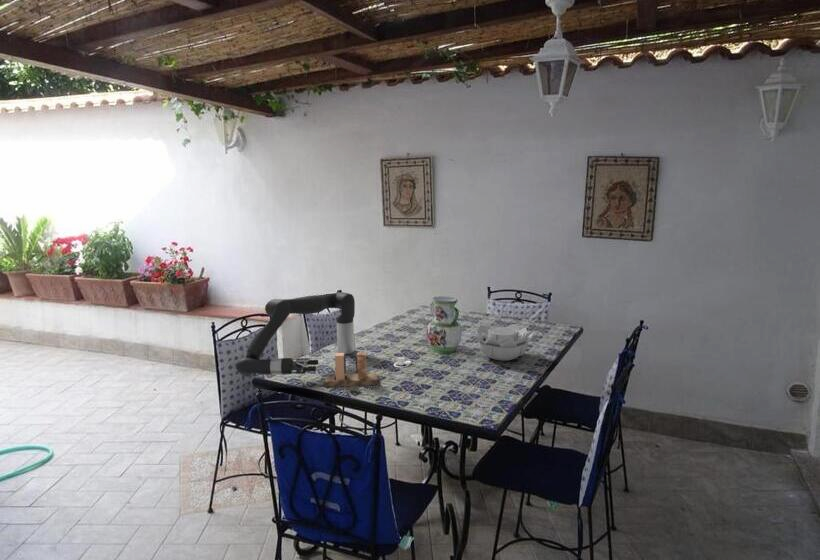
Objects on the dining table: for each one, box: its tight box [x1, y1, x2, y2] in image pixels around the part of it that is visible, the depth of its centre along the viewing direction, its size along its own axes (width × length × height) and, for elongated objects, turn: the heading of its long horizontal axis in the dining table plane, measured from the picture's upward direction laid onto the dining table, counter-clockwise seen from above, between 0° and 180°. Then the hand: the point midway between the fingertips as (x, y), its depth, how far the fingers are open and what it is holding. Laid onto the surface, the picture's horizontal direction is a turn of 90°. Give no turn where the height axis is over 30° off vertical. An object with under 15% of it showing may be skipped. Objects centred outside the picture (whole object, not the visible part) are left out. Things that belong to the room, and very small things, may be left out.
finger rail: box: [324, 351, 379, 388], centre depth 242 cm, size 24×8×14 cm, turn 93°
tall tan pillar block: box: [334, 352, 347, 380], centre depth 241 cm, size 5×4×14 cm
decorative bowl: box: [474, 323, 535, 362], centre depth 273 cm, size 30×30×15 cm
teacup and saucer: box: [393, 356, 412, 368], centre depth 265 cm, size 9×8×4 cm
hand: (317, 365), depth 240 cm, fingers open, 8 cm apart
